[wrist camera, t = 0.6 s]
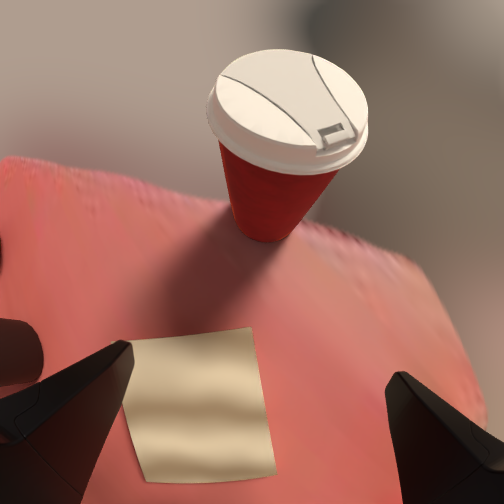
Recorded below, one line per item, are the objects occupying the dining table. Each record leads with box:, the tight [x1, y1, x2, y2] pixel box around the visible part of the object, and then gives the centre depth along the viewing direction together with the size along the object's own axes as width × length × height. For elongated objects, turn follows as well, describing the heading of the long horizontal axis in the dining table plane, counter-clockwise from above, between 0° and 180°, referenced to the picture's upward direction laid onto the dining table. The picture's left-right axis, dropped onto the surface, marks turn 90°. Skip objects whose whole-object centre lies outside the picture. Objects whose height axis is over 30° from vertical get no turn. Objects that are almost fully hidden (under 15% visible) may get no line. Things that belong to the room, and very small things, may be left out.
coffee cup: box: [206, 49, 368, 242], centre depth 18 cm, size 8×8×15 cm
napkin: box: [111, 327, 277, 483], centre depth 20 cm, size 14×12×2 cm
